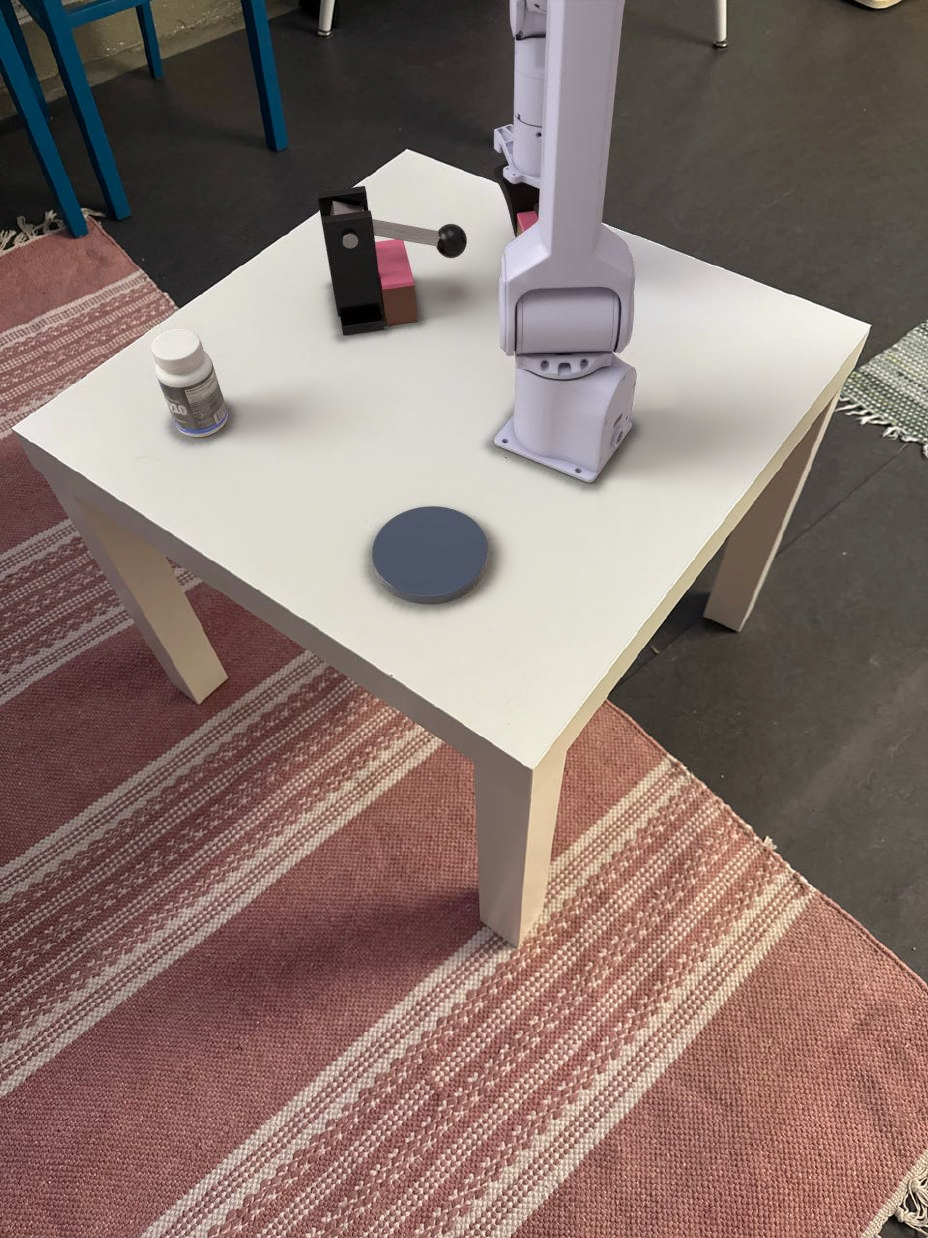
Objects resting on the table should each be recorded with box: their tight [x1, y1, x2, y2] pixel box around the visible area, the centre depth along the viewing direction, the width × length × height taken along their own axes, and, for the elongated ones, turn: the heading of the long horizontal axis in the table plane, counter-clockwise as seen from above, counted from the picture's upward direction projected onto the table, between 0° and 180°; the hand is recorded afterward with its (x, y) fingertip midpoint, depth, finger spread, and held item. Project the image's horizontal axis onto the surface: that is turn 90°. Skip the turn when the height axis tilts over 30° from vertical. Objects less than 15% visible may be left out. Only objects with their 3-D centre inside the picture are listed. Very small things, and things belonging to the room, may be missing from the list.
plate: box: [371, 505, 489, 605], centre depth 71 cm, size 9×9×1 cm
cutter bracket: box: [316, 185, 385, 336], centre depth 86 cm, size 4×8×11 cm, turn 11°
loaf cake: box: [375, 239, 418, 327], centre depth 89 cm, size 3×7×4 cm, turn 11°
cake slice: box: [517, 211, 539, 237], centre depth 92 cm, size 4×4×4 cm
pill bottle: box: [150, 328, 229, 438], centre depth 78 cm, size 5×5×8 cm
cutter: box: [330, 201, 468, 259], centre depth 84 cm, size 13×3×3 cm, turn 101°
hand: (540, 249), depth 92 cm, fingers closed on cake slice, 5 cm apart
